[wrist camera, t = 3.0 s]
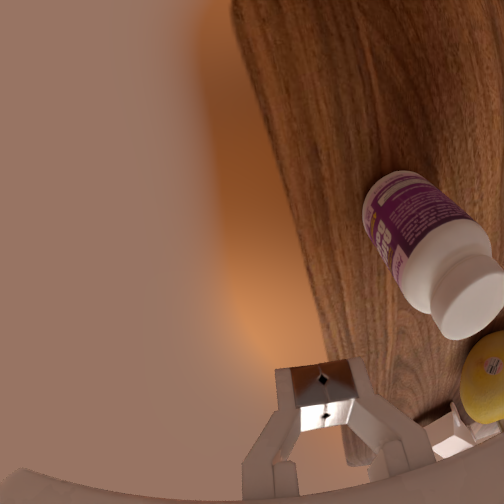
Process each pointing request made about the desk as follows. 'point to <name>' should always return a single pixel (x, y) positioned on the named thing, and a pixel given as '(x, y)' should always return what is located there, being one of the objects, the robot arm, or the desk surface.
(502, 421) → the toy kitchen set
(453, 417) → the toy truck
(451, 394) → the desk surface
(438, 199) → the pill bottle
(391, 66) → the desk surface
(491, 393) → the fruit
